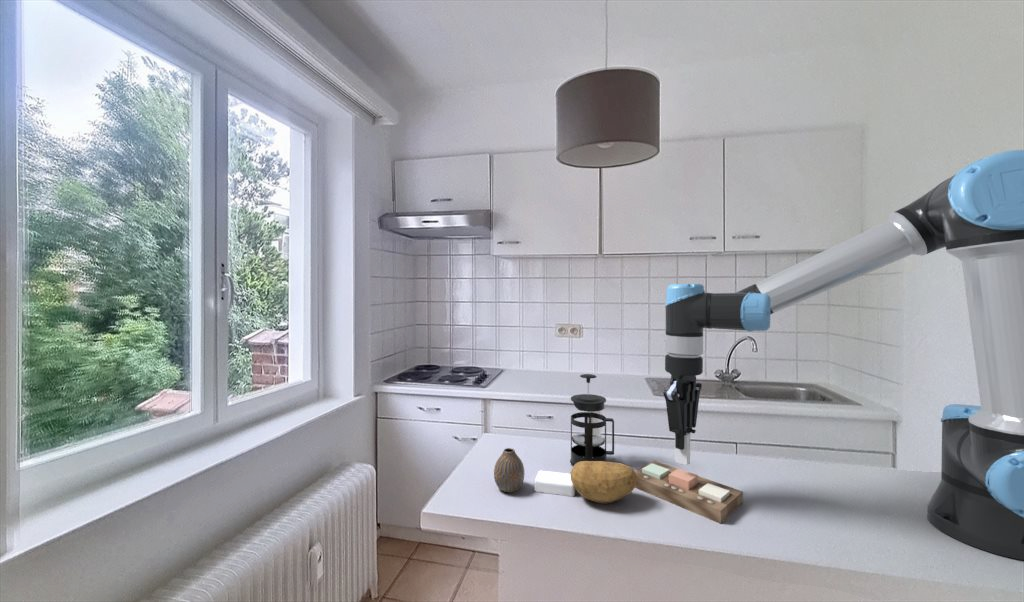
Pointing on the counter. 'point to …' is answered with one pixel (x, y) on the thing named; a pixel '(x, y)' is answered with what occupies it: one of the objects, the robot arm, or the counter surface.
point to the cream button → (714, 492)
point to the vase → (509, 471)
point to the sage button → (656, 471)
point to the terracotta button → (683, 479)
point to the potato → (603, 480)
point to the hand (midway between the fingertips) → (682, 462)
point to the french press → (589, 428)
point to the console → (690, 495)
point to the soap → (554, 483)
